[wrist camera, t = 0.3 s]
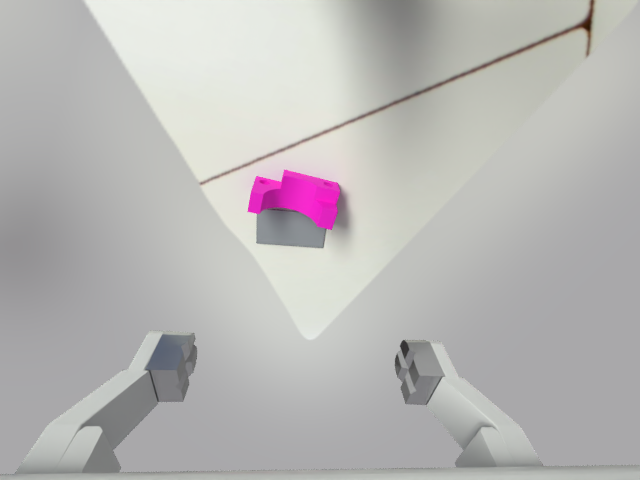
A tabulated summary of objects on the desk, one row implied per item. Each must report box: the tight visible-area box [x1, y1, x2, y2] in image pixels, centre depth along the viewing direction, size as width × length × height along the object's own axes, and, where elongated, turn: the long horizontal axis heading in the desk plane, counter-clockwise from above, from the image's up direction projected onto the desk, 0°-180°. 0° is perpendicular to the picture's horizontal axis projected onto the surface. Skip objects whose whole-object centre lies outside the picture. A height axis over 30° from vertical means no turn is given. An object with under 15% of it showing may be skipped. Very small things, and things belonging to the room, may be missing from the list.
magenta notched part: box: [248, 170, 340, 230], centre depth 54 cm, size 15×6×8 cm, turn 74°
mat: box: [256, 209, 325, 248], centre depth 61 cm, size 8×14×1 cm, turn 83°
